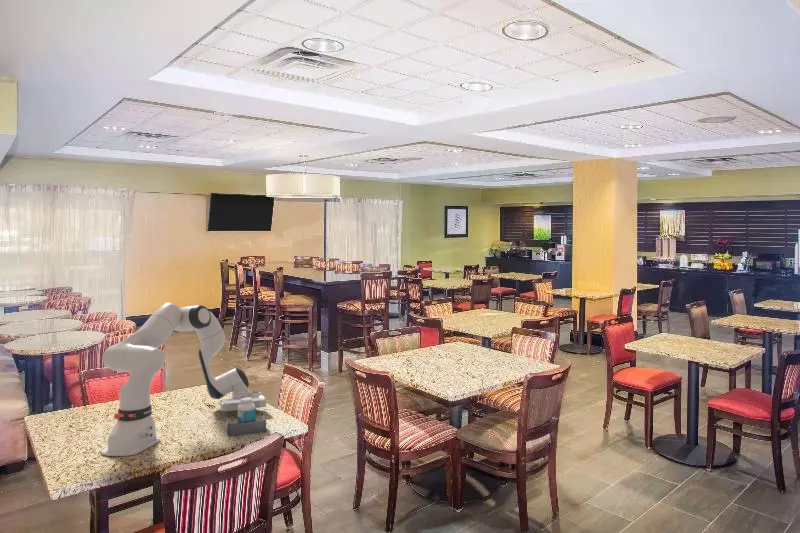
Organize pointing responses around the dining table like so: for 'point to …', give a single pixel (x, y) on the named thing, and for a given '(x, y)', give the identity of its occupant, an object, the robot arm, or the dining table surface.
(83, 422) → the dining table surface
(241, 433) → the bracket
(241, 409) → the pill bottle
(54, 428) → the dining table surface
